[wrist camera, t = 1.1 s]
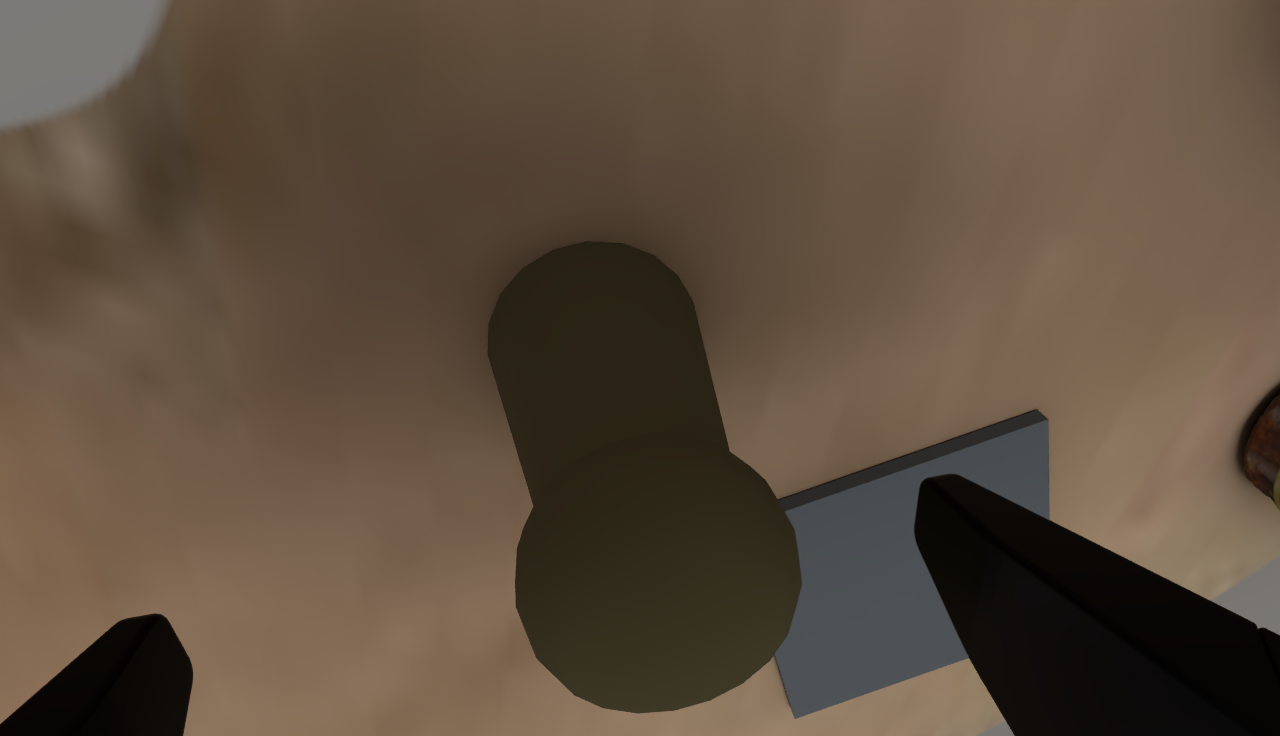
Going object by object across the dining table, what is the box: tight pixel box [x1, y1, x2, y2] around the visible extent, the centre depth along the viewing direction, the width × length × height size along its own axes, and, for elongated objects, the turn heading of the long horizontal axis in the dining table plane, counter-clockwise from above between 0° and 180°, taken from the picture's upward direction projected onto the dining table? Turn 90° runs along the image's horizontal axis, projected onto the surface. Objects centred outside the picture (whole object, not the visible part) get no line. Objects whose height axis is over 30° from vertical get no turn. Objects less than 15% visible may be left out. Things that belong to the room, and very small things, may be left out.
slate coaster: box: [774, 410, 1049, 719], centre depth 29 cm, size 11×11×1 cm
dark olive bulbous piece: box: [488, 242, 802, 713], centre depth 17 cm, size 6×6×11 cm
